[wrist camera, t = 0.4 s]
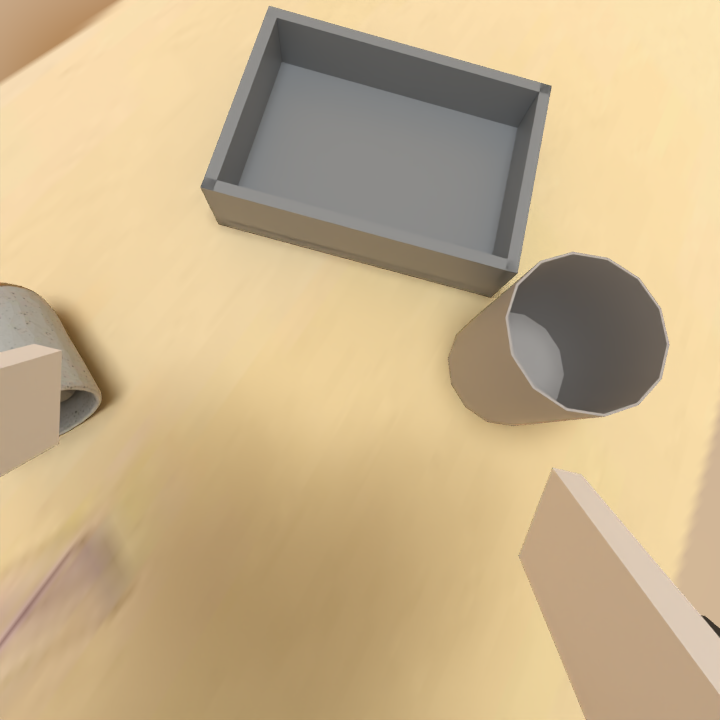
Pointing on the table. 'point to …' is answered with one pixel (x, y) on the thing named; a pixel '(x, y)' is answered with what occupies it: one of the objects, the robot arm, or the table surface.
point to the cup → (561, 345)
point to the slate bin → (380, 153)
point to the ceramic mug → (43, 327)
